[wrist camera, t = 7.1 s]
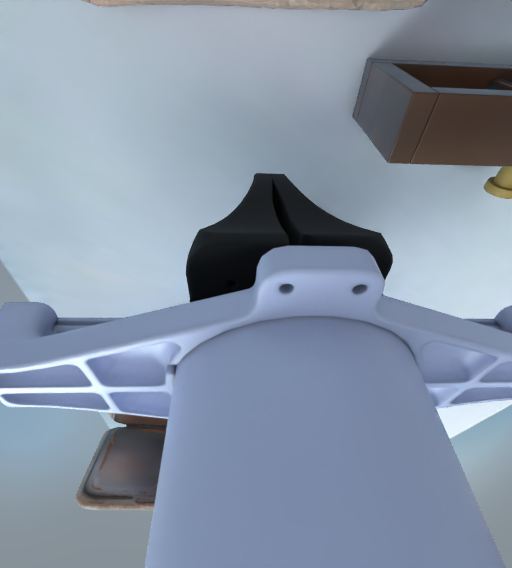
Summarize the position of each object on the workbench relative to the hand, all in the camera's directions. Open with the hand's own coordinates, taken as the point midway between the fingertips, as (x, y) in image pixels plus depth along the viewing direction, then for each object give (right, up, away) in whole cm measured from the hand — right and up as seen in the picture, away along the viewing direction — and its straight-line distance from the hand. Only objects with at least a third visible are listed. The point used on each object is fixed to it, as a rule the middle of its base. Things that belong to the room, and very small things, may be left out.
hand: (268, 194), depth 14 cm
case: (-15, -24, +38) cm, 48 cm away
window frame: (+13, +8, +6) cm, 17 cm away
